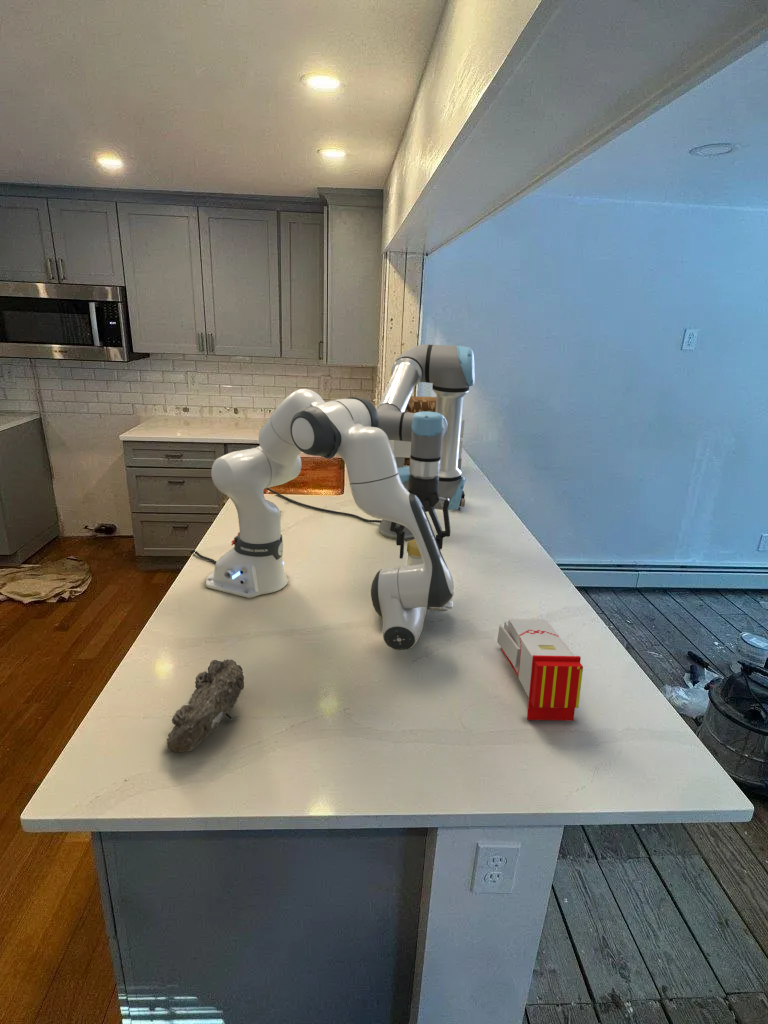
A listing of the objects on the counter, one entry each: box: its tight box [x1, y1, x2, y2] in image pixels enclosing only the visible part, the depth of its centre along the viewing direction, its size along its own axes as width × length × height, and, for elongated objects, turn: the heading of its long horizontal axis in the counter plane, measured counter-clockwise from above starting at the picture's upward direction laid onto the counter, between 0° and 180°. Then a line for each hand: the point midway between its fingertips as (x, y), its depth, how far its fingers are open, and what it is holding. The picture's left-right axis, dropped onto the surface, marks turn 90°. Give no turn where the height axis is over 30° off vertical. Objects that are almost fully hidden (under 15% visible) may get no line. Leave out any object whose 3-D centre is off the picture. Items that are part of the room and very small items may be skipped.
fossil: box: [166, 658, 245, 754], centre depth 106 cm, size 22×10×15 cm
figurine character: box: [457, 490, 466, 511], centre depth 229 cm, size 7×8×15 cm
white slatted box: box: [389, 395, 465, 471], centre depth 268 cm, size 34×33×41 cm
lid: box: [406, 539, 421, 557], centre depth 148 cm, size 6×6×2 cm
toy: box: [497, 618, 584, 722], centre depth 122 cm, size 12×13×30 cm
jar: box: [406, 552, 424, 566], centre depth 151 cm, size 6×6×16 cm
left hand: (417, 580), depth 152 cm, fingers closed on jar, 5 cm apart
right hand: (418, 558), depth 149 cm, fingers open, 8 cm apart
